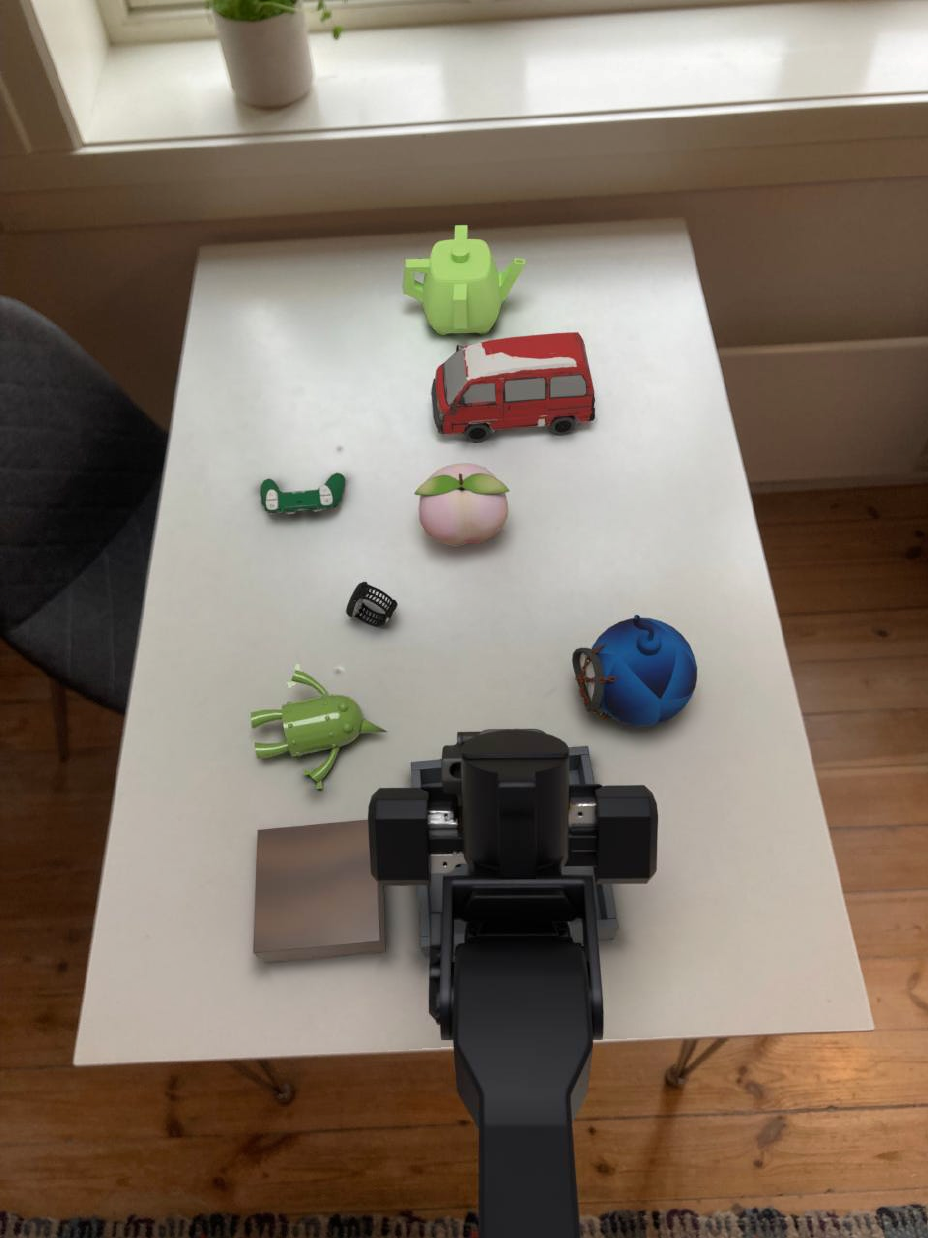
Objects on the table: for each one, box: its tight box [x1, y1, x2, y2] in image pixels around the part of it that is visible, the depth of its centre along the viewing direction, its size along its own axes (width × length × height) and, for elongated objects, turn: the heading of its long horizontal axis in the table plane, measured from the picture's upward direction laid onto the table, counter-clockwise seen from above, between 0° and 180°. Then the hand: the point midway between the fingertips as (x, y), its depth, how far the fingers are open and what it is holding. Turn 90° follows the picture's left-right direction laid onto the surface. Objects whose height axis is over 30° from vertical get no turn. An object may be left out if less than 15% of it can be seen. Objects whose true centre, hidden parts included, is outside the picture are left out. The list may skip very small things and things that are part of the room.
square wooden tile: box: [252, 819, 386, 964], centre depth 76 cm, size 10×10×4 cm
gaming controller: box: [259, 472, 346, 515], centre depth 98 cm, size 9×4×6 cm
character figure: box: [250, 662, 389, 790], centre depth 83 cm, size 12×5×12 cm
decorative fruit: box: [413, 462, 510, 547], centre depth 93 cm, size 9×8×10 cm
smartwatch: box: [345, 581, 399, 628], centre depth 89 cm, size 4×5×5 cm
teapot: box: [402, 224, 526, 336], centre depth 111 cm, size 12×12×10 cm
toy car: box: [430, 331, 596, 444], centre depth 101 cm, size 9×18×10 cm, turn 90°
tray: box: [410, 745, 620, 959], centre depth 77 cm, size 16×16×4 cm
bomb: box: [571, 614, 698, 728], centre depth 80 cm, size 10×11×15 cm
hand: (509, 784), depth 68 cm, fingers closed on puzzle block, 5 cm apart
